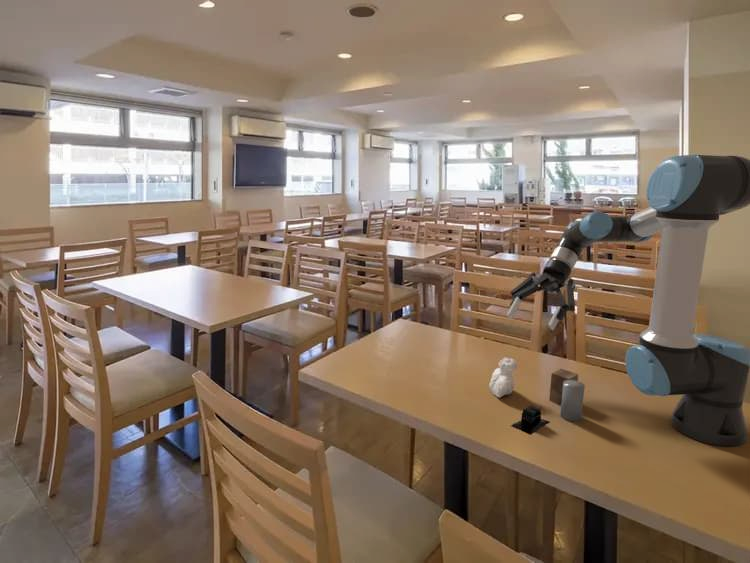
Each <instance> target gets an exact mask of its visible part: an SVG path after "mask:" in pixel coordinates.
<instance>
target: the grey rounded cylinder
mask: <svg viewBox="0 0 750 563" xmlns="http://www.w3.org/2000/svg"><path fill="white" fill-rule="evenodd" d="M585 387H586V386H585V384H584V382H583V383H582V382H581V381H579V380H578V381H574V380H566V381H564V382H563V392H562V402H561V405H560V414H559V415H560V418H562V419H563V420H564V421H567V422H571V423H572V422H575V423H577V422H580V421H581V420H582V415H583V414H582V413H583V406H584V397H585V396H584V395H585Z"/></svg>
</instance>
